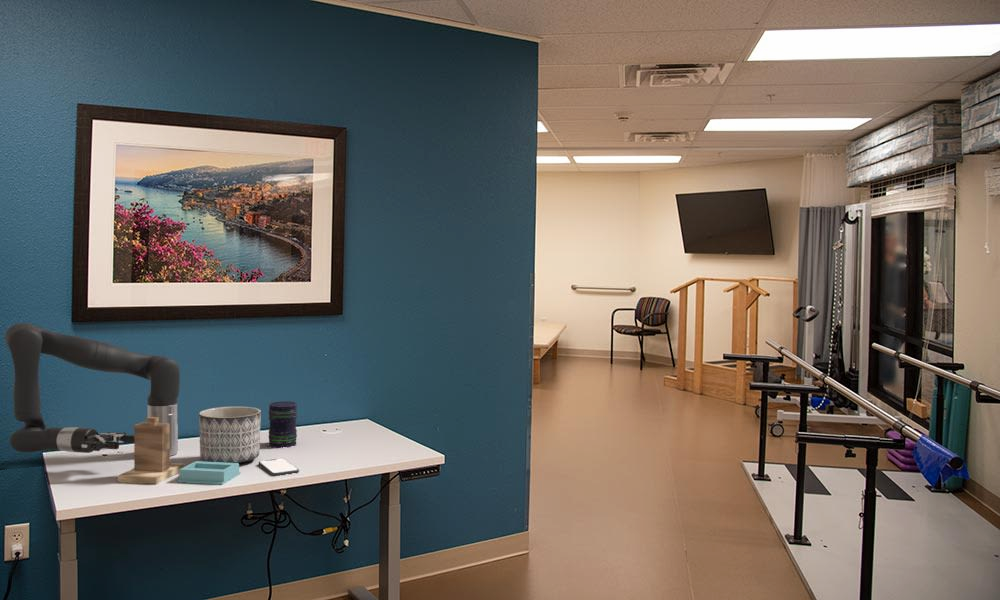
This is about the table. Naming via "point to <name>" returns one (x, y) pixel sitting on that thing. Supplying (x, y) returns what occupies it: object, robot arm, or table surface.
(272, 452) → the table surface
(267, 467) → the phone case
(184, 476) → the teal rack
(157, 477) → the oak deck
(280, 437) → the storage jar
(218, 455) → the planter
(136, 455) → the brown wooden bottle
